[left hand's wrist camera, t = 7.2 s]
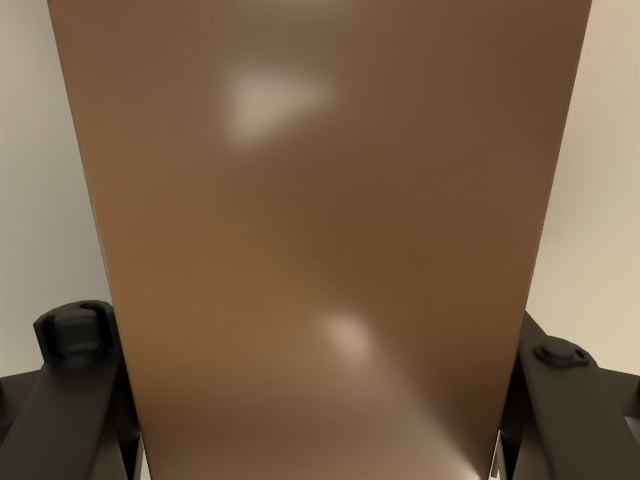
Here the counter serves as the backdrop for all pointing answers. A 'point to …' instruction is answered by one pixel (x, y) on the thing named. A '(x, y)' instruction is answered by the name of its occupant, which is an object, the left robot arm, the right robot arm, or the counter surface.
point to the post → (319, 221)
